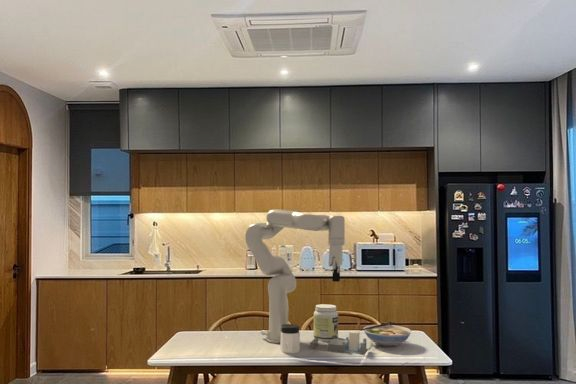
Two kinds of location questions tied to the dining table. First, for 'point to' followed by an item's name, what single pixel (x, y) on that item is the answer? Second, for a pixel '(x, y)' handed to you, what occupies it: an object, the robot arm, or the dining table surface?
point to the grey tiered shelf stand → (337, 346)
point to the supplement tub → (325, 322)
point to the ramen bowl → (387, 334)
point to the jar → (290, 338)
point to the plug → (353, 340)
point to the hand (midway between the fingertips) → (336, 281)
